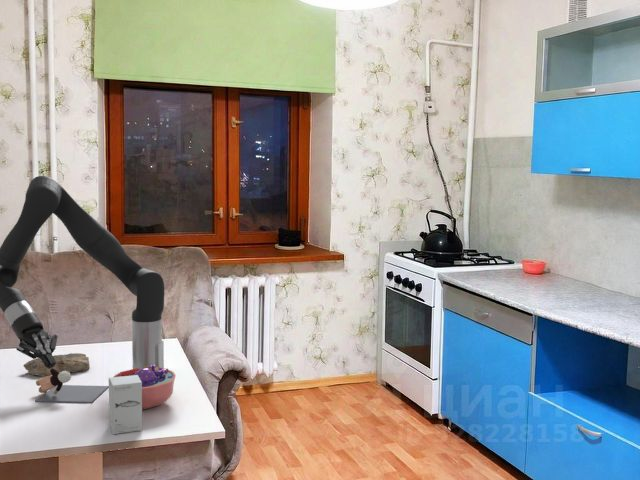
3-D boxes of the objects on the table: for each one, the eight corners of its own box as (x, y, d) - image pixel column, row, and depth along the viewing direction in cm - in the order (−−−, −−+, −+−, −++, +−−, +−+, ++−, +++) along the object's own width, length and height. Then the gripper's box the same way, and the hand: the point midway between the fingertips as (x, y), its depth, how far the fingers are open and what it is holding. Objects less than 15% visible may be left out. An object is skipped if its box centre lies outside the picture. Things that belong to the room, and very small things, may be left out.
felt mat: (108, 387, 201) (108, 386, 201) (92, 403, 187) (91, 401, 187) (56, 386, 202) (56, 384, 202) (35, 401, 188) (35, 400, 188)
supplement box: (112, 435, 165) (111, 385, 164) (108, 425, 172) (108, 376, 170) (143, 431, 168) (142, 382, 167) (138, 421, 175) (137, 373, 173)
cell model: (177, 392, 198) (176, 354, 197) (174, 416, 178) (174, 374, 177) (117, 394, 195) (117, 356, 194) (108, 419, 175) (107, 377, 174)
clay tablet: (27, 381, 207) (93, 371, 218) (26, 365, 207) (93, 356, 217) (21, 370, 219) (84, 361, 230) (20, 355, 219) (83, 347, 229)
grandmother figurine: (51, 392, 197) (79, 384, 191) (41, 399, 194) (69, 391, 188) (39, 369, 196) (67, 360, 190) (29, 375, 193) (56, 366, 187)
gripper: (37, 324, 204) (65, 368, 199) (-3, 332, 193) (26, 379, 187) (48, 308, 201) (77, 353, 196) (7, 315, 190) (37, 363, 184)
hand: (52, 366), depth 192 cm, fingers closed
